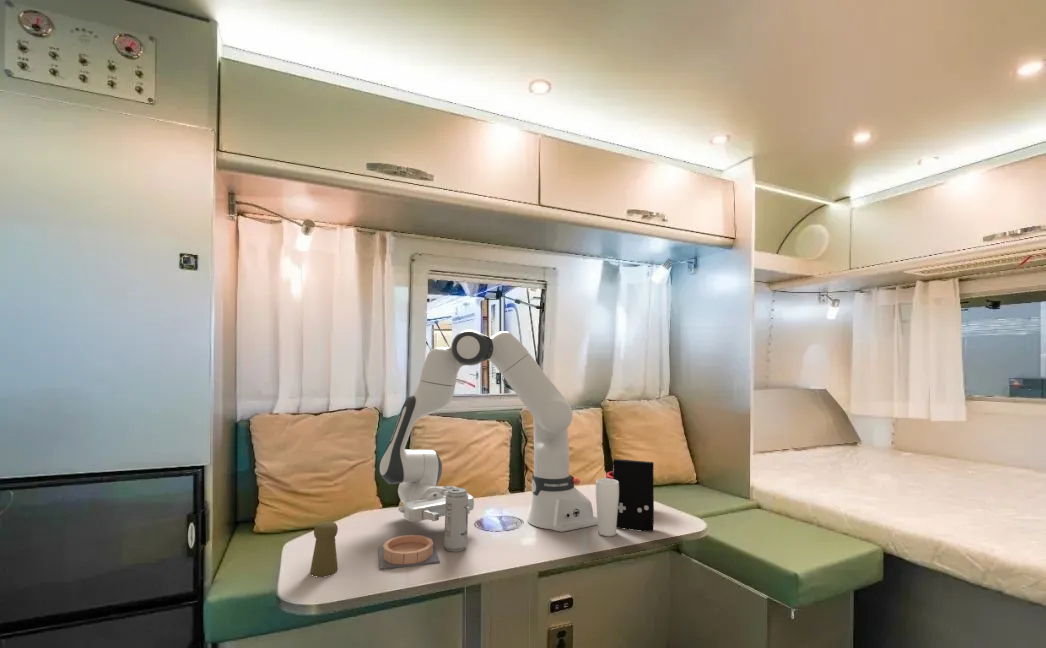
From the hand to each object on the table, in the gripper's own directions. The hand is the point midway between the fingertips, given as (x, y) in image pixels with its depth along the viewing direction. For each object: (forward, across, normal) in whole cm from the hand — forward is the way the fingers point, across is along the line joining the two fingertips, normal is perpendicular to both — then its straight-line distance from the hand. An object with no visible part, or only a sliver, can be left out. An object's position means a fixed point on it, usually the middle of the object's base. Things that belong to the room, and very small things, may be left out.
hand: (452, 514), depth 129 cm
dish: (0, -12, +8) cm, 15 cm away
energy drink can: (+2, 0, +8) cm, 9 cm away
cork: (-3, -32, +8) cm, 33 cm away
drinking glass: (+18, +41, +8) cm, 46 cm away
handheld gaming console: (+19, +51, +8) cm, 55 cm away
